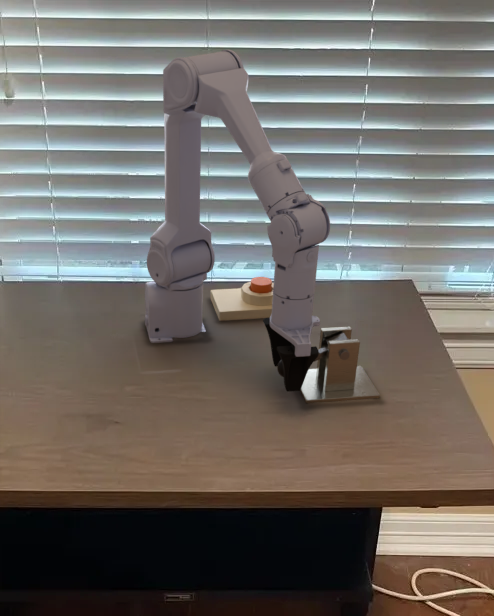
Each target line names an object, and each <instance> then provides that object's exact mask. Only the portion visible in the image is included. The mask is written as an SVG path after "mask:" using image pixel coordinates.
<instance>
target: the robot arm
mask: <svg viewBox="0 0 494 616" xmlns="http://www.w3.org/2000/svg"><path fill="white" fill-rule="evenodd" d="M248 88H249V73H248V72H247V71H246V69H245V68H244V63H243V61H242V59H241V57H240V56H239V55H238V53H237V52H235V51H234V50H232V49H222V50H221V51H216V52H209V53H204V54H197V55H190V56H185V57H184V56H178V57H175V58H173V59H172V60H171V61H169V63H168V64H167V65H166V66H165V67H164V68H163V69H162V97H163V98H162V99H163V100H162V101H163V106H162V108H163V110H162V111H163V114H164V115H163V116H164V117H163V118H164V119H163V120H164V122H163V123H164V125H163V126H164V131H163V132H164V221H163V222H162V223H161V225H159V227H158V228H157V229H156V230H155V231H154V232H153V233H152V234H151V236H150V237H149V243H150V244H149V250H148V252H147V256H146V267H147V271H148V274H149V276H150V278H151V279H152V281H147V282H145V284H144V307H145V308H144V311H145V312H144V313H145V315H144V325H145V328H146V331H147V335H148V339H149V342H150V343H151V344H159V343H173V342H174V340H173V338H176V339H177V338H178V339H179V338H180V339H181V338H183V339H185V338H191V337H194V336H197V335H199V334H200V333H205V332H207V330H206V328H205V324H204V322H203V313H204V312H203V311H204V310H203V306H204V305H203V303H204V281H206V280H208V274H209V273H210V272H211V271H212V270H213V268H214V266H215V261H216V259H215V258H216V256H215V250H214V247H213V243H212V231H211V230H210V229H209V228H208V227H207V226H206V225H204V224H203V223H201V163H202V161H201V160H202V150H201V149H202V119H203V118H204V117H205V116H210V117H213V118H217V119H220V120H221V122H222V123H223V125H224V126H225V128H226V129H227V131H228V132H229V134H230V135H231V137H232V138H233V140H234V141H235V143H236V145H237V146H238V148H239V149H240V151H241V152H242V154H243V156H244V157H245V159H246V160H247V162H248V163H249V169H248V172H247V173H248V174H247V180H248V182H249V184H250V185H251V187H252V189H253V192H254V193H255V195H256V197H257V199H258V201H259V203H260V204H261V206H262V208H263V210H264V212H265V214H266V215H267V218H268V219H269V221H270V223H269V224H268V225H267V228H266V229H267V230H266V231H267V236H268V239H269V242H270V245H271V248H272V251H271V257H272V260H273V262H274V271H273V273H274V274H273V283H274V286H273V300H272V313H271V317H269V318H262V319H263V320H262V322H263V324H264V326H265V329H266V332H267V335H268V338H269V344H270V350H271V357H272V363H273V365H274V367H277V366H278V363H279V361H280V360H281V361H282V365H283V373H284V377H283V383H284V384H283V385H284V389H285V391H286V392H289V393H290V392H300V390H301V388H302V385H303V382H304V380H305V377H306V374H307V372H308V370H309V369H311V366H312V365H313V363H314V361H315V359H316V358H317V357H318V355H319V348H318V347H317V346H316V345H315V346H312V341H311V337H312V333H313V327H319V326H320V324H321V320H320V318H319V317H318V316H317V315H313V314H314V313H313V312H314V302H315V292H316V291H315V290H316V282H317V271H318V262H319V261H318V260H319V251H320V250H319V249H320V245H319V244H323V242H325V241H326V240H327V239H328V237H329V235H330V232H331V220H330V216H329V214H328V211H327V208H326V207H325V204H323V203H322V202H320V201H319V200H317V199H315V198H314V197H313V196H312V195H311V194H309V193H306V191H305V190H304V187H303V186H302V184H301V182H300V180H299V179H298V177H297V175H296V173H295V171H294V169H293V166H292V165H291V163H290V160H289V159H288V157H287V156H286V155H285V154H283V153H280V152H277V151H274V150H273V148H272V147H271V144H270V142H269V139H268V137H267V135H266V132H265V131H264V128H263V126H262V124H261V122H260V119H259V117H258V114H257V112H256V109H255V108H254V105H253V103H252V100H251V99H250V97H249V94H248ZM315 362H316V361H315Z"/></svg>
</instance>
